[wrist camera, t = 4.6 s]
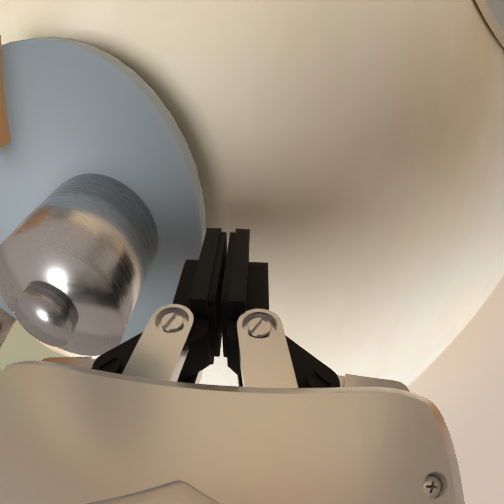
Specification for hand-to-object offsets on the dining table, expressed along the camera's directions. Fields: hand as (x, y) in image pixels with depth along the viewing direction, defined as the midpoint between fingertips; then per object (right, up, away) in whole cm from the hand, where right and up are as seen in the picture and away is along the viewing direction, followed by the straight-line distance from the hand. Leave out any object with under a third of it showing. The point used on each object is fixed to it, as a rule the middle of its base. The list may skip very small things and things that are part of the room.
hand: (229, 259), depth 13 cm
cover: (-6, +1, +1) cm, 7 cm away
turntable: (-11, +3, +2) cm, 12 cm away
